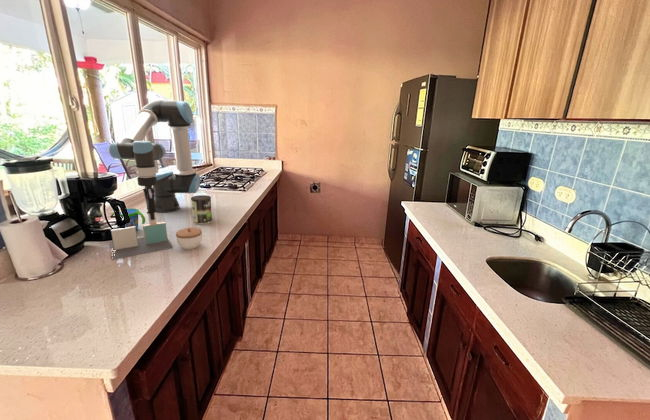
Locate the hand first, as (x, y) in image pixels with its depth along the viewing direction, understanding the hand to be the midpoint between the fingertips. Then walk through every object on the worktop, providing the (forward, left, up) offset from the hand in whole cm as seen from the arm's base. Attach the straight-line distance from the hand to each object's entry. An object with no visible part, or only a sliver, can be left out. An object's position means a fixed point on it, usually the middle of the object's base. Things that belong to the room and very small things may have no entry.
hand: (153, 225), depth 143 cm
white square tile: (+5, -12, -7) cm, 14 cm away
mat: (+6, -6, -7) cm, 11 cm away
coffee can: (-15, +26, -7) cm, 31 cm away
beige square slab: (+5, 0, -7) cm, 8 cm away
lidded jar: (+18, +12, -7) cm, 22 cm away
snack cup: (-19, -9, -7) cm, 23 cm away
